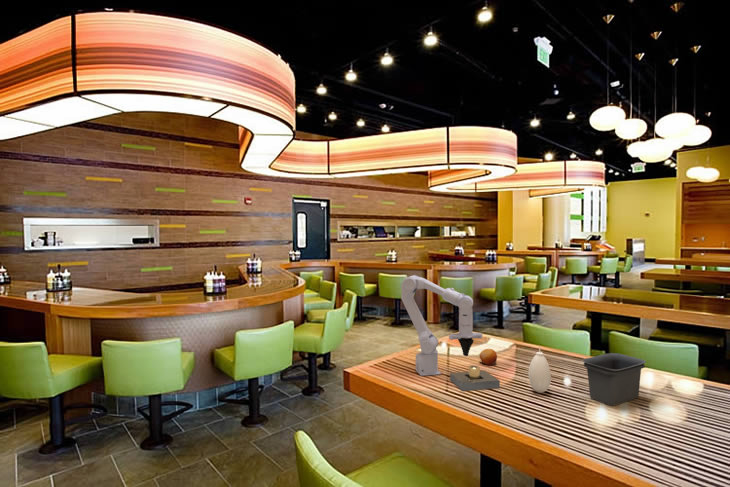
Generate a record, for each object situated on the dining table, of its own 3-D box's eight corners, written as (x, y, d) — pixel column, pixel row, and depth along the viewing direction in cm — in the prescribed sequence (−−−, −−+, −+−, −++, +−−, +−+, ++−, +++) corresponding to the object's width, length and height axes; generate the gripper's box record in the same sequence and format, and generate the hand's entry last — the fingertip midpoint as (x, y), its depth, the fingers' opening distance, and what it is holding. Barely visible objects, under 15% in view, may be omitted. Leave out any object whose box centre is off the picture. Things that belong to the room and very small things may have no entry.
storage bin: (614, 411, 135) (614, 370, 135) (573, 395, 149) (573, 357, 149) (650, 399, 144) (650, 361, 144) (608, 385, 158) (608, 350, 158)
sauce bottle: (553, 396, 147) (553, 349, 147) (531, 395, 149) (531, 348, 149) (547, 388, 155) (547, 343, 155) (526, 387, 156) (527, 342, 156)
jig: (462, 391, 153) (462, 383, 153) (449, 380, 165) (449, 373, 165) (499, 387, 156) (499, 380, 156) (484, 377, 168) (484, 370, 168)
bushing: (471, 386, 158) (471, 369, 158) (466, 382, 162) (466, 365, 162) (481, 385, 159) (481, 368, 159) (476, 381, 163) (476, 364, 163)
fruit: (503, 363, 183) (494, 348, 183) (488, 371, 183) (480, 357, 183) (497, 357, 191) (489, 343, 191) (484, 366, 191) (475, 352, 191)
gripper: (453, 326, 163) (453, 359, 163) (485, 325, 166) (485, 357, 166) (447, 323, 170) (447, 354, 170) (478, 321, 173) (477, 352, 173)
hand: (465, 355), depth 169 cm, fingers closed
